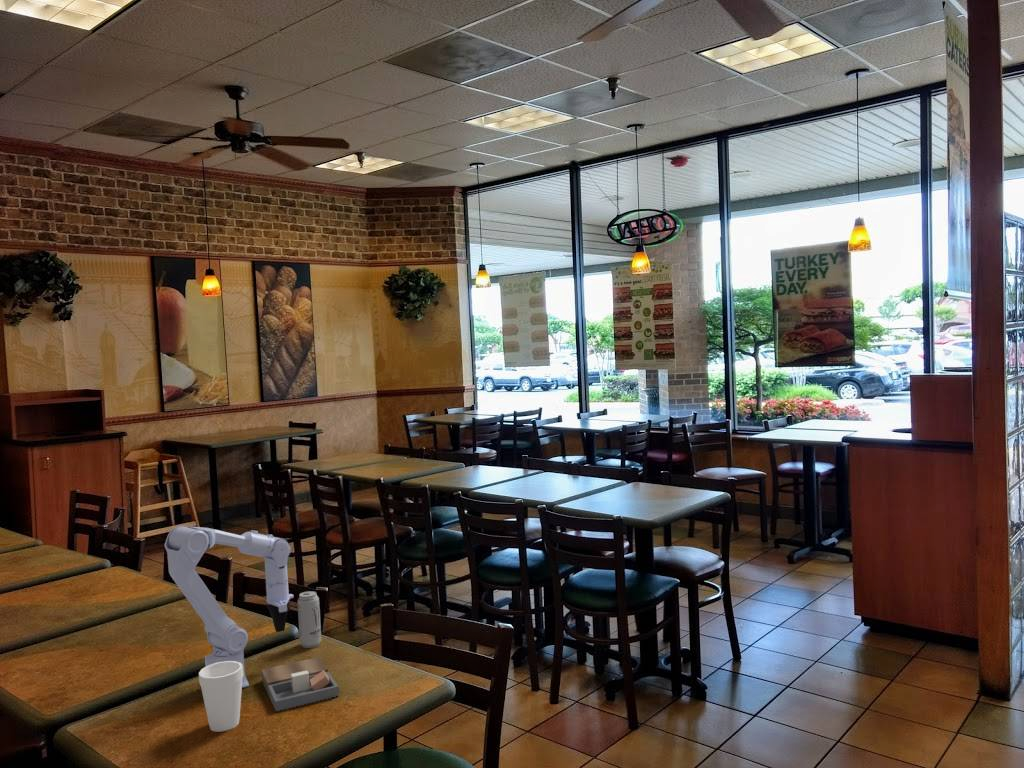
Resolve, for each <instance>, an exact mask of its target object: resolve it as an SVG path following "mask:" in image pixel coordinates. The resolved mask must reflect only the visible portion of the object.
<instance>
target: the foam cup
mask: <svg viewBox="0 0 1024 768" xmlns="http://www.w3.org/2000/svg"><path fill="white" fill-rule="evenodd" d="M242 677H243V665H242V664H241V663H240V662H237V661H224V662H217V663H214V664H211V665H208V666H206V667H205V666H204V667H203V668H201V669H200V671H199V672H198V681H199V685H200V687H201V688H200V689H201V693H202V698H203V703H204V706H205V712H206V717H207V720H208V726H209V729H210V731H212V732H217V733H218V732H220V733H221V732H225V731H229V730H231V729H234V728H236V727H237V726H238V725H239V723H240V718H241V717H240V715H241V705H242V689H243V688H242Z"/></svg>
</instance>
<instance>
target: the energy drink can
mask: <svg viewBox="0 0 1024 768" xmlns="http://www.w3.org/2000/svg"><path fill="white" fill-rule="evenodd" d="M297 614H298V617H297V618H298V631H299V632H298V633H299V644H300V645H301V646H302V648H304V649H312V648H316V647H318V646H320V643H321V642H322V629H321V628H322V626H321V609H320V597H319V596H318V595H317V592H316V591H312V590H311V591H310V590H308V591H303V592H300V593H299V597H298V599H297Z"/></svg>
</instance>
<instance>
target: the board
mask: <svg viewBox="0 0 1024 768" xmlns="http://www.w3.org/2000/svg"><path fill="white" fill-rule="evenodd" d="M323 670H324V671H325V672H329V668H328V667H327V666H326V664H325V662H323V660H322V658H321V657H320V656H317V657H311V658H308V659H303V660H298V661H294V662H290V663H286V664H281V665H276V666H272V667H267V668H263V669H262V668H261V681H262V684H263V686H264V689H265V690H266V693H267V696H269V693H268V685H273V684H277V683H281V682H286V681H290V680H291V674H294V673H298V672H302V671H308V673H309V676H311V675H316V674H319V673H320V672H321V671H323Z"/></svg>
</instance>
